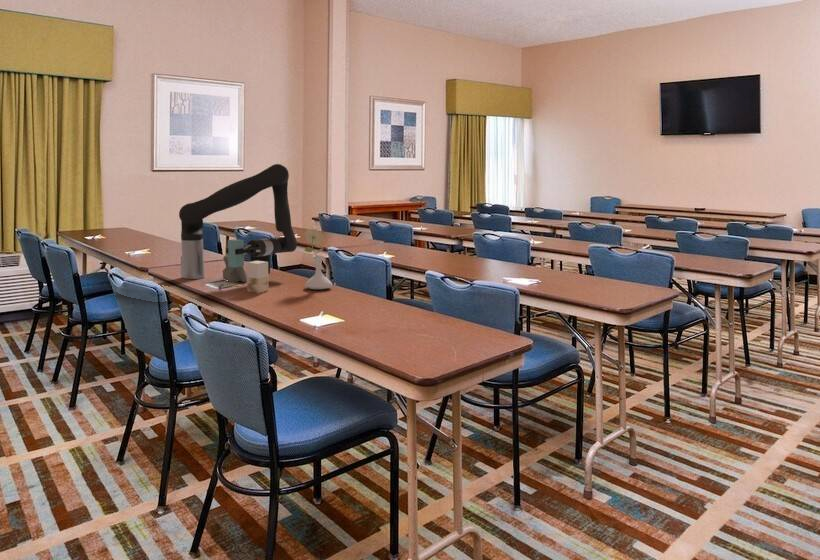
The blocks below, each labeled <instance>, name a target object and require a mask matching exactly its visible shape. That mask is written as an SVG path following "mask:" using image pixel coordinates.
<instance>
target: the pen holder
mask: <svg viewBox="0 0 820 560" xmlns="http://www.w3.org/2000/svg"><path fill="white" fill-rule="evenodd" d="M249 257H250V260H249V262H252V261H265V262H268V275H269V274H270V273H271V254H270V255H266V256H260V257H251V256H250V255H249Z"/></svg>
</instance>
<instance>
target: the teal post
mask: <svg viewBox="0 0 820 560" xmlns="http://www.w3.org/2000/svg"><path fill="white" fill-rule="evenodd" d="M244 244H245V241H244V239H233V238H232V239H227V248H228V253H227V256H228V267H235V268H237V267H243V268H244V267H245V254H238V255H236V254H235V249H241V248H242V249H243V248H244Z"/></svg>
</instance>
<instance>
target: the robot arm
mask: <svg viewBox="0 0 820 560" xmlns="http://www.w3.org/2000/svg"><path fill="white" fill-rule="evenodd" d="M289 174H290V173H289V170H288V168H287V167H286V166H285V165H283V164H282V163H275V164H272V165H270V166H269V167H267V168H266V169H264V170H262V171H261V172H259V173H256V174H254V175H252V176H249V177H245V178H243V179H241V180H238V181H234V182H233V183H231V184H229V185H226V186H225V187H223V188H220V189H218V190H217V191H215V192H214V193H212V194H210V195H209V196H207V197H205V198H202V199H200V200H198V201H194V202H189V203H186V204H184V205H183V206H182V207H181V208H180V209H179V212H178V213H179V214H178V217H179V220H180V223H181V224H180V225H181V230H180V231H181V232H180V239H181V240H180V241H181V256H180V272H181V278H182V279H186V280H196V279H197V280H199V279H203V278H205V277H206V276H205V257H204V256H205V255H204V219H205V218H208V217H209V216H210V215H213V214H216V213H217V212H218V213H219V212H221V211H224V210H227V209H229V208H233V207H236V206H238V205H240V204H242V203H245V202H247V201H248V200H249V199H251V198H253V197H254V196H256V195H257V194H259V193H260V192H262V191H263V190H266V189H269V188H271V189H272V193H273V203H274V205H273V207H274V213H273V214H274V222H275V230H276V231H277V232H279V233H280V232H281V233H282V234H283V236H281V237H274V238H257V239H256V238H255V239H251V240H248V242H247V243H244V248H243V249H242V248H241V249H235V254H236V255H238V254H244V255H247V256H249V257H250V256H251V257H260V256H266V255H270V256H271V255H275V254H280V253H281V254H282V253H284V254H285V253H292V252H294V251H295V250H296V249H297V247H298V246H297V245H298V241H297V240H298V239H297V238H296V234H295V232H294V229H293V226H292V217H291V216H292V215H291V211H290V204H289V195H288V188H289V187H288V184H289V177H290V175H289ZM225 253H226V254H228V247H226V248H225Z"/></svg>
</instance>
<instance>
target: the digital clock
mask: <svg viewBox="0 0 820 560" xmlns="http://www.w3.org/2000/svg"><path fill="white" fill-rule="evenodd" d="M222 258H223V262H224V264H225V268H224V269H223V270H222V280H223V279H225V280H228V281H230V282H234V283H239V282H238V281H242V282H241V283H247V272H246V270H245V268H244V266H243V267H237V268H235V267H228V254H227V255H224V256H223V257H222ZM225 280H224V281H225ZM228 281H227V282H228ZM230 282H229V283H230Z"/></svg>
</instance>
